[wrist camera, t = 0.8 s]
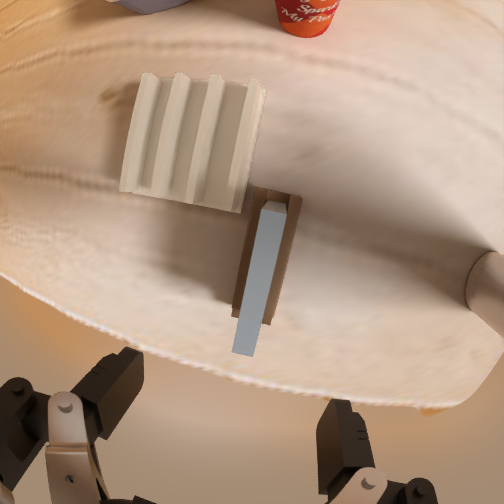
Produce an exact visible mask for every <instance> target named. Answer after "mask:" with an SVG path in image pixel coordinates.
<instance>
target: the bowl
mask: <svg viewBox="0 0 504 504" xmlns="http://www.w3.org/2000/svg"><path fill="white" fill-rule="evenodd" d="M106 1H109V2H112V3H115V4H118V5H120V6H123V7H125V8H128V9H130V10H133V11H135V12H137V13H140V14H142V15H145V14H151V13H155V12H158V11H162V10H166V9H169V8H172V7H175V6H178V5H180V4H183V3H185V2H187V1H190V0H106Z"/></svg>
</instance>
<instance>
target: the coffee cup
mask: <svg viewBox="0 0 504 504" xmlns="http://www.w3.org/2000/svg"><path fill="white" fill-rule="evenodd" d="M339 2H340V0H275V3H276V8H277V13H278V17H279V21H280V24H281V25H282V27H283V28H284V29H285V30H286V31H287V32H289V33H290V34H292V35H295V36H298V37H303V38H312V37H316V36H319V35H321V34H323V33H324V32H325V31H326V30H327V28H328V27H329V25H330V23H331V20H332V18H333V16H334V14H335V11H336V9H337V7H338V4H339Z"/></svg>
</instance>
